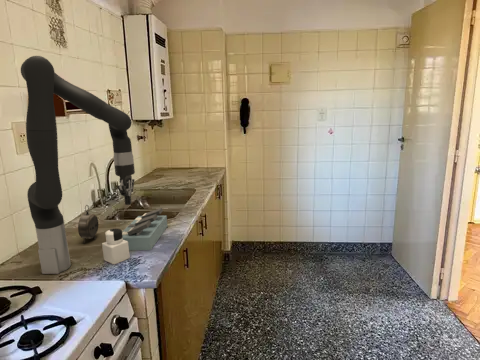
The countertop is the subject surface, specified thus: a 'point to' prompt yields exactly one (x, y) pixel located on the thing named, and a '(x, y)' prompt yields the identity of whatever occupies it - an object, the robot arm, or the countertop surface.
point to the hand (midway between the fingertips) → (128, 204)
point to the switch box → (145, 234)
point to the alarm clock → (88, 225)
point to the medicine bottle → (115, 247)
